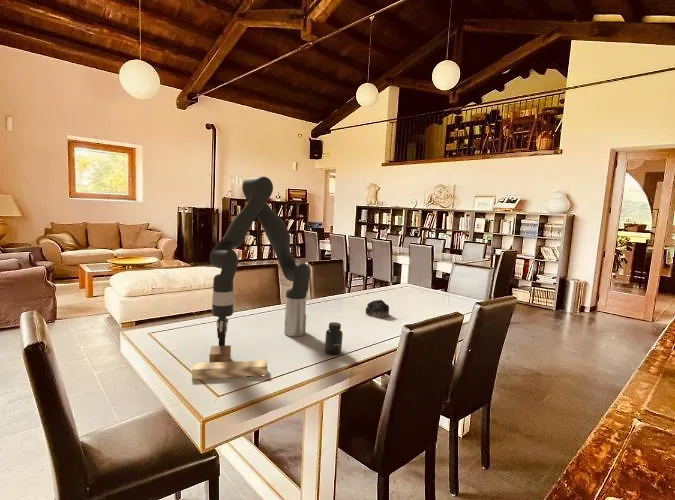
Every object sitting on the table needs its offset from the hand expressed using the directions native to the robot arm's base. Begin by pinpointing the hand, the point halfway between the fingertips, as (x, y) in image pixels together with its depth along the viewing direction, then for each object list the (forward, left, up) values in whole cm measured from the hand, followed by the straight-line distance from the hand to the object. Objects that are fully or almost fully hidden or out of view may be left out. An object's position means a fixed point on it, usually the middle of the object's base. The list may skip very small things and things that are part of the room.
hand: (221, 347), depth 138 cm
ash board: (-4, +16, -4) cm, 17 cm away
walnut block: (0, +6, -4) cm, 7 cm away
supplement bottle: (-43, 0, -4) cm, 43 cm away
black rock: (-81, -53, -4) cm, 96 cm away
